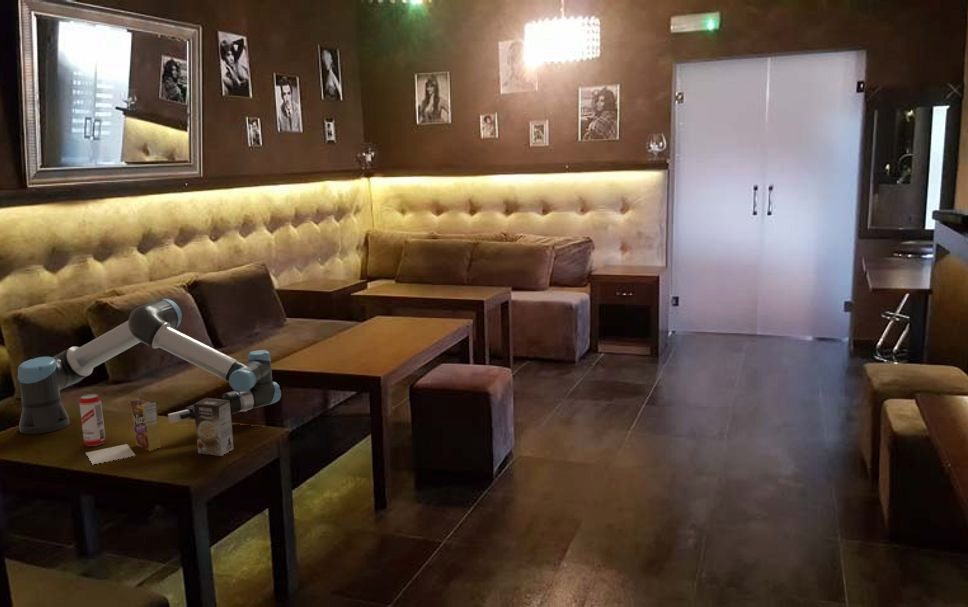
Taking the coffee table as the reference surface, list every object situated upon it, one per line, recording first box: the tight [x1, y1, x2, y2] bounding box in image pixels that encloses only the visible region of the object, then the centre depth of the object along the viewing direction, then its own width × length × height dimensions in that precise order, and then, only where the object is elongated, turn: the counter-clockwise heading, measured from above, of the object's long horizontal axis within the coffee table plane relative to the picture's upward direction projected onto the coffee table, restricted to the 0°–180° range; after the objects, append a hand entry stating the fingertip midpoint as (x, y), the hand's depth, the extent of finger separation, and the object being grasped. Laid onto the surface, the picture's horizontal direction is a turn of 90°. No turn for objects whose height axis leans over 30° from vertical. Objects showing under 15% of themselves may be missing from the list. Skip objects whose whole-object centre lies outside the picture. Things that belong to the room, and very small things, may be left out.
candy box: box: [129, 396, 162, 452], centre depth 250 cm, size 9×4×15 cm, turn 50°
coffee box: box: [193, 397, 234, 457], centre depth 244 cm, size 9×6×16 cm
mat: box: [85, 443, 136, 466], centre depth 245 cm, size 12×12×1 cm
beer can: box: [79, 393, 107, 447], centre depth 254 cm, size 6×6×16 cm
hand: (169, 418), depth 255 cm, fingers closed
